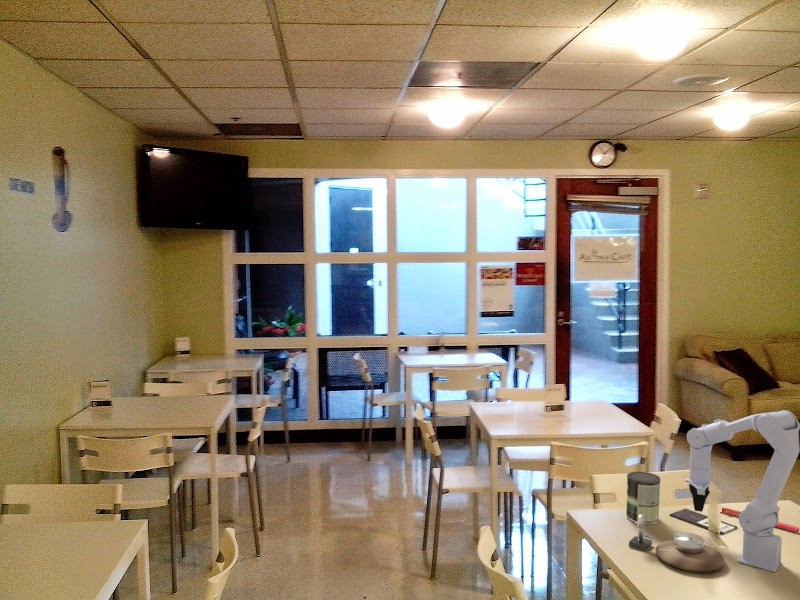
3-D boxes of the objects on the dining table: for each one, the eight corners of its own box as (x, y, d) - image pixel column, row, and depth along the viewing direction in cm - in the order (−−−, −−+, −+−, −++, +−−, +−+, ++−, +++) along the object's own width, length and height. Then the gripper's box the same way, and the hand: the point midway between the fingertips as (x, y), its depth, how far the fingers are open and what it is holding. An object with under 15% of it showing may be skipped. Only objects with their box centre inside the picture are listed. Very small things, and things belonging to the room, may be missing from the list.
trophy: (656, 546, 201) (657, 515, 200) (650, 552, 197) (652, 520, 196) (635, 540, 205) (636, 510, 204) (628, 546, 201) (629, 515, 200)
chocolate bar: (685, 508, 229) (737, 526, 214) (685, 511, 229) (737, 529, 214) (669, 514, 224) (721, 533, 209) (669, 516, 224) (721, 536, 209)
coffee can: (621, 519, 221) (622, 477, 220) (632, 509, 229) (633, 469, 228) (652, 527, 214) (654, 484, 213) (663, 517, 222) (665, 475, 221)
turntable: (731, 555, 193) (732, 551, 193) (714, 578, 180) (714, 575, 179) (667, 537, 205) (667, 534, 205) (646, 558, 191) (646, 555, 191)
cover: (707, 547, 196) (707, 537, 196) (699, 556, 190) (699, 546, 190) (678, 539, 202) (679, 530, 201) (669, 548, 195) (670, 538, 195)
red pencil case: (722, 513, 229) (717, 512, 226) (723, 506, 230) (718, 506, 227) (801, 534, 212) (797, 534, 209) (802, 527, 213) (798, 527, 209)
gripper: (684, 458, 214) (682, 499, 215) (687, 472, 201) (685, 516, 202) (708, 460, 212) (706, 502, 213) (713, 475, 198) (711, 520, 200)
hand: (698, 509), depth 207 cm, fingers closed
